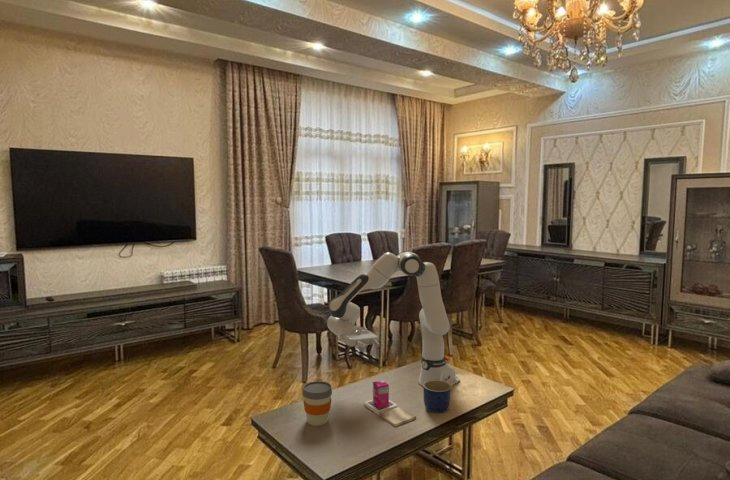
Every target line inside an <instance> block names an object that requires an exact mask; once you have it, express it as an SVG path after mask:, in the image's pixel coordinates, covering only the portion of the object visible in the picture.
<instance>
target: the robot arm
mask: <svg viewBox="0 0 730 480" xmlns="http://www.w3.org/2000/svg"><path fill="white" fill-rule="evenodd" d="M400 271H401V272H402V273H403V274H405V275H406V276H409V277H416V281H417V289H418V296H419V301H420V303H421V304H420V305H421V306H422V308H421V310H419V314H418V316H419V322H420V323H419V324H420V331H421V340H422V341H421V343H422V350H421V351H422V354H421V357H420V358H421V360H420V362H421V366H420V373H419V374H420V375H419V377H418V378H419V379H418V384H419V385H420V386H421V387H423V385H424V383H425V382H427V381H430V380H440V381H444V382H447V383H448V384H450V386H451V387H453V386H454V385H456V384H458V383H459V382H458V381H461V379H460V377H458V376H456V371H455V368H454V367H452V366H451V365H450V364H449V363H447V362H449V361H450V360H451V359H450V357H449V356H445V341H444V337H443V335H444V336H445V335H446V334H447V333H448V332H449V331H450V327H451V326H450V325H451V324H450V321H449V318H448V315H447V311H446V308H445V304H444V301H443V296H442V291H441V283H440V277H439V273H438V270H437V267H436V265H435V264H434V263H432V262H429V261H423V260H422V259H421V258H420V256H419V255H418V254H417V253H414V252H413V251H410V250H404V251H402V252H398V253H397V254H394V253H392V252H389V251H387V252H384V253H383V254H382V255H380V256H379V257H378V259H377V260H376V261H374V263H373V264H372V265H371V267H370V268H369V269H368V270H366V271H365V272H364V273H362V274H360V275H358V276H356V278H355V279H354V280H353V281H352V282H351V283H350V284H348V286H347V287H345V288H344V289H343V290H342V291H341V292H340V293H339V294H337V296H334V298H332V299H331V300H330V302H329V304H328V311H329V312H328V313H329V314H330V316H329V317H328V318H327V320H326V325H327V328H328V329H329V330H330V332H331V333H333V334H334V335H336V336H338V337H339V338H340V339H341V341H342V342H343V343H344V344H345V345H346V346H348V347H360V348H362V349H367V347H368V345H374V346H375V347H380V344H381V343H379V342H378V341H379V336H378V335H376V333H374V332H372V330H371V331H370V330H368V328H366V327H365V326H359V325H356V322H357V321H358V319H359V317H360V315H361V308H360V307H359V305H357V304H355V303H353V302H351V301H352V300H353V299H354V298H355V297H356V296H357V295H358V294H359V293H360V292H361V291H365V290H369V289H374V290H377V289H381V288H382V287H384V286H385V285H386V284H387V283H388V282H389V280H390V279H391V278H392V276H393V275H394V274H396V273H397V272H400ZM457 382H458V383H457ZM455 383H456V384H455ZM453 384H454V385H453ZM452 385H453V386H452Z"/></svg>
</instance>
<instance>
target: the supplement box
mask: <svg viewBox="0 0 730 480" xmlns="http://www.w3.org/2000/svg"><path fill="white" fill-rule="evenodd" d="M389 387H390V385H389V383H387V382H386V381H385V380H384V379H381V380H376V381H372V400H373V404H372V406H373V407H375V408H376V409H378V410H381V409H384V408H387V407H390V405H389V400H390V393H389V392H390V391H389V390H390V388H389Z"/></svg>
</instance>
